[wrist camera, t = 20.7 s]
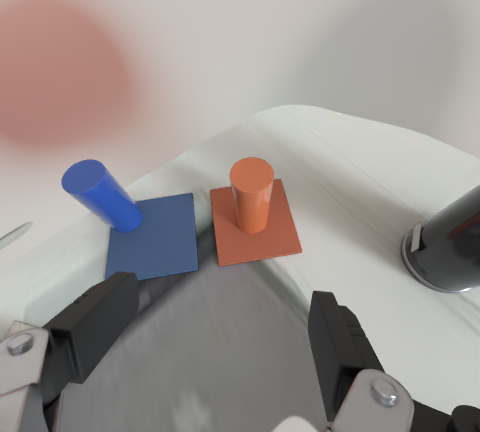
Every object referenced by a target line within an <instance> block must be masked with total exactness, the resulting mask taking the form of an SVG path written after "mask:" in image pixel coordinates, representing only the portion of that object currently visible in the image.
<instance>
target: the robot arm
mask: <svg viewBox="0 0 480 432" xmlns="http://www.w3.org/2000/svg"><path fill="white" fill-rule="evenodd" d="M401 254H402V258H403V260H404V263H405V265H406V266H407V268H408V269H409V271H410V272H411V273H412V274H413V275H414V276H415V277H416V278H417V279H418V280H419V281H420V282H422V283H423V284H425V285H426V286H428V287H430V288H432V289H434V290H437V291H440V292H445V293H458V292H463V291H467V290H469V289H471V288H476V287H480V185H478V186H477V187H475V188H474V189H472V190H471V191H469V192H468V193H467V194H465V195H464V196H462V197H461V198H459V199H458V200H456V201H455V202H453V203H452V204H450V205H449V206H448V207H446V208H445V209H443V210H442V211H440V212H439V213H437V214H436V215H434V216H433V217H432V218H430V219H429V220H427V221H426V222H424V223H423V224H421V222H420V223H419V224H417V225H416V226H415V227H414V229H412V230H411V231H410V232H408V233H407V234H406V235H405V237H404V238H403V241H402V244H401ZM138 307H139V294H138V284H137V276H136V274H135V273H133V272H123V271H117V272H115V273H114V274H113V275H111V276H110V277H109V278H108V279H107V280H106V281H102V282H100V283H98V284H96V285H94V286H92V287H91V288H89V289H88V290H87V291H86V292H85V293H83V294H82V296H80V297H78V298H77V299H76V300H75V301H74V302H73V303H71V304H70V305H69V306H67V307H66V308H65V309H64V310H63V311H61V312H60V313H59V314H58V315H56V316H55V317H54V318H53V319H51V320H50V321H49V322H48V323H47V324H45V325H44V326H43V327H42V328H29V329H25V330H22V331H19V332H17V333H15V334H12V335H10V336H9V337H7V338H5V339H4V340H2V341H1V342H0V432H60V428H61V418H62V409H63V400H64V393H63V389H64V387H65V386H66V385H67V384H68V383H69V382H71V383H78V384H83V383H84V381H85V380H86V379H87V378H88V376H89V375H90V374H91V372H92V371H93V370H94V368H95V367H96V366H97V365H98V363H99V362H100V361H101V359H102V358H103V357H104V355H105V354H106V353H107V351H108V350H109V349H110V348H111V346H112V345H113V344H114V342H115V341H116V340H117V338H118V337H119V336H120V335H121V333H122V332H123V331H124V329H125V328H126V327H127V325H128V324H129V323H130V321H131V320H132V319H133V318H134V316H135V315H136V313H137V311H138ZM308 334H309V339H310V344H311V348H312V353H313V357H314V362H315V366H316V371H317V376H318V380H319V385H320V389H321V394H322V398H323V403H324V407H325V412H326V416H327V421H329V422H333V423H332V425H331V427H326V428H325V430H324V432H480V409H478V408H476V407H472V406H467V405H460V406H457V407H456V408H454V410H453V412H452V414H451V415H448V414H446V413H443V412H441V411H438V410H436V409H433V408H431V407H429V406H426V405H424V404H421V403H419V402H417V401H415V400H413V399H412V398H411V396H410V394H409V393H408V391H407V390H406V389H405V388H404V387H403V385H401V384H400V383H399V382H398V381H397V380H396V379H394V378H393V377H391V376H390V375H388V374H386V373H385V371H384V369H383V367H382V365H381V364H380V362H379V360H378V358H377V356H376V354H375V352H374V350H373V348H372V346H371V344H370V342H369V340H368V339H367V337H366V335H365V333H364V331H363V329H362V328H361V325H360V323H359V321H358V319H357V317H356V315H354V314H353V313H352V312H351V311H350V310H349V309H348V308H347V307H346V306H339V305H338V303H337V301H336V299H335V297H334V294H333V293H332V292H323V291H313V294H312V300H311V306H310V313H309V319H308Z"/></svg>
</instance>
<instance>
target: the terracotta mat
mask: <svg viewBox="0 0 480 432" xmlns="http://www.w3.org/2000/svg"><path fill="white" fill-rule="evenodd" d="M210 195H211V203H212V212H213V220H214V228H215V237H216V245H217V254H218V262H219V266H225V265H231V264H237V263H243V262H249V261H255V260H261V259H267V258H273V257H278V256H284V255H290V254H296V253H301V252H302V249H301V245H300V242H299V239H298V235H297V232H296V229H295V225H294V222H293V219H292V215H291V212H290V209H289V205H288V202H287V199H286V195H285V192H284V189H283V185H282V182H281V179H276V180H273V187H272V194H271V202H270V209H269V217H268V223H267V225H266V227H265V228H264V229H263V230H262V231H260V232H258V233H253V234H250V233H246V232H244V231H242V230H241V229H240V228H239V227H238V226H237V224H236V219H235V212H234V205H233V198H232V191H231V187H226V188H219V189H213V190H210Z"/></svg>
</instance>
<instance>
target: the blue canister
mask: <svg viewBox="0 0 480 432" xmlns="http://www.w3.org/2000/svg"><path fill="white" fill-rule="evenodd" d="M62 187H63V188H64V190H65V191H66V192H68V193H69V194H70V195H71V196H73V197H74V198H75V199H76V200H78V201H79V202H80V203H81V204H83V205H84V206H85V207H86V208H88V209H89V210H90V211H91V212H93V213H94V214H95V215H96V216H98V217H99V218H100V219H101V220H103V221H104V222H105V223H106V224H108V225H109V226H110V227H111V228H113V229H114V230H115V231H117V232H120V233H127V232H130V231H133V230H134V229H136V228H137V227H138V226H139V225H140V223H141V221H142V218H143V213H142V210H141V209H140V208H139V206H138V205H137V204H136V203H135V202H134V201H133V199H132V198H131V197H130V196H129V195H128V193H127V192H126V191H125V190H124V189H123V188H122V186H121V185H120V184H119V183H118V182H117V181H116V179H115V178H114V177H113V176H112V175H111V173H110V172H109V171H108V170H107V169H106V168H105V167H104V165H103V164H102V163H101V162H99V161H96V160H84V161H80V162H78V163H76V164H74V165H73V166H71V167H70V168H69V169H68V170H67V171H66V172H65V174H64V175H63V178H62Z"/></svg>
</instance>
